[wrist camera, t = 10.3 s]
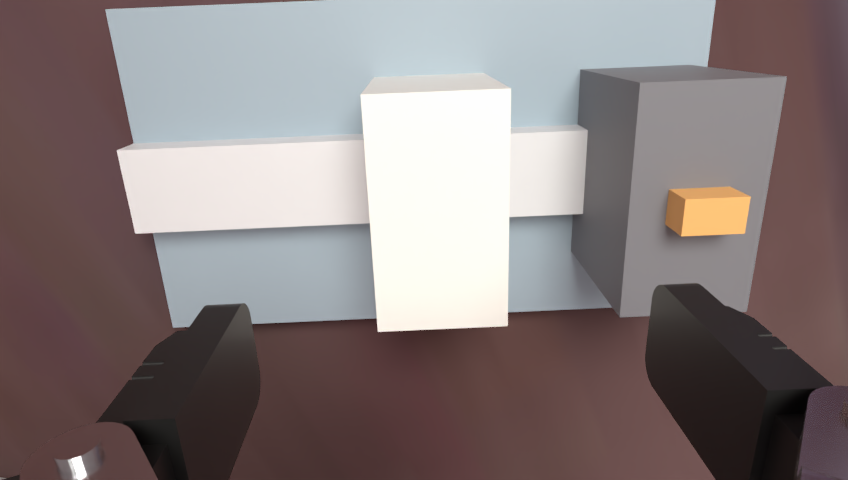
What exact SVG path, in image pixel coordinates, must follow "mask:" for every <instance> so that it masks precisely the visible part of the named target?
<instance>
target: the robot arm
mask: <svg viewBox="0 0 848 480" xmlns="http://www.w3.org/2000/svg"><path fill="white" fill-rule="evenodd" d="M645 362H646V370H647V374H648V378H649V381H650V383H651V385H652V387H653V388H654V390H655V391H656V393H657V394H658V396H659V397H660V399H661V400H662V401H663V403H664V404H665V406H666V407H667V409H668V410H669V412H670V413H671V415H672V416H673V418H674V419H675V421H676V422H677V423H678V425H679V426H680V428H681V429H682V431H683V432H684V434H685V435H686V437H687V438H688V440H689V441H690V443H691V444H692V445H693V447H694V448H695V450H696V451H697V453H698V454H699V456H700V457H701V459H702V460H703V462H704V463H705V465H706V466H707V467H708V469H709V470H710V472H711V473H712V475H713V476H714V478H715V479H716V480H848V386H833V385H832V384H831V383H830V382H829V381H828V380H826V379H825V378H824V377H823V376H822V375H820V374H819V373H818V372H817V371H816V370H814V369H813V368H812V367H811V366H810V365H809V364H807V363H806V362H805V361H804V360H803V359H801V358H800V357H799V356H798V355H797V354H796V353H794V352H793V351H792V350H791V349H789V350H787V346H786V345H785V344H784V343H783V342H781V341H780V340H779V339H778V338H777V337H772V333H771V332H770V331H768V330H767V329H766V328H765V327H764V326H762V325H761V324H760V323H759V322H758V321H757V320H755V319H754V318H752V317H750V316H748V315H746V314H744V313H742V312H740V311H737V310H735V309H733V308H731V307H729V306H725V305H723V304H722V303H721V302H720V301H719V300H718V299H717V298H715V297H714V296H713V295H712V294H711V293H710V292H709V291H708V290H706V289H705V288H704V287H703V286H702V285H700V284H698V283H686V284H665V285H658V286H657V287H656V288H655V289H654V292H653V295H652V302H651V310H650V319H649V328H648V336H647V345H646V354H645ZM259 395H260V371H259V365H258V358H257V352H256V346H255V340H254V334H253V327H252V321H251V315H250V311H249V308H248V306H247V305H246V304H245V303H238V304H217V305H206V306H204V307H203V308H202V310H201V311H200V313H199V314H198V315H197V317H196V318H195V320H194V321H193V323H192V324H191V325H190V327H189V328H188V330H187V331H177V332H175V333H174V334H172V335H171V336H170V337H168V338H167V339H165V340H164V341H162V342H161V343H159V344H158V345H156V346H155V347H154V349H153V350H152V351H151V352H150V354H149V355H148V356H147V358H146V359H145V360H144V361H143V366H140V367H139V368H138V369H137V371H136V372H135V373H134V374H133V376H132V380H129V381H128V382H127V383H126V385H125V386H124V387H123V389H122V390H121V391H120V393H119V394H118V395H117V396H116V398H115V399H114V400H113V402H112V403H111V404H110V405H109V407H108V408H107V409H106V411H105V412H104V413H103V415H102V416H101V417H100V418H99V420H98V421H97V422H96V423H93V424H88V425H84V426H80V427H77V428H74V429H71V430H69V431H67V432H64V433H62V434H60V435H58V436H56V437H54V438H52V439H51V440H49V441H48V442H46V443H45V444H43V445H42V446H41V447H39V448H38V449H37V450H36V451H35V452H33V453H32V454H31V455H30V456H29V458H28V459H27V460H26V461H25V463H24V465H23V466H22V468H21V471H20V475H17V476H14V477H10V478H6V479H2V480H228V479H229V477H230V474H231V472H232V469H233V466H234V464H235V461H236V459H237V456H238V453H239V451H240V448H241V446H242V443H243V441H244V438H245V435H246V433H247V430H248V428H249V425H250V422H251V420H252V417H253V415H254V412H255V409H256V407H257V404H258V400H259Z"/></svg>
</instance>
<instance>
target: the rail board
mask: <svg viewBox="0 0 848 480" xmlns="http://www.w3.org/2000/svg"><path fill="white" fill-rule="evenodd" d="M715 1H716V0H322V1H298V2H273V3H249V4H224V5H199V6H175V7H150V8H126V9H105V11H106V15H107V20H108V25H109V29H110V34H111V39H112V43H113V48H114V53H115V58H116V62H117V67H118V72H119V76H120V81H121V86H122V90H123V95H124V100H125V105H126V109H127V114H128V119H129V123H130V128H131V133H132V137H133V142H134V144H131V145H129V146H126V147H124V148H122V149H119V150H117V154H118V158H119V163H120V167H121V172H122V176H123V181H124V185H125V190H126V194H127V199H128V203H129V207H130V212H131V216H132V221H133V225H134V230H135V234H139V233H153V236H154V241H155V245H156V250H157V255H158V260H159V264H160V269H161V274H162V278H163V283H164V288H165V292H166V297H167V302H168V307H169V311H170V316H171V321H172V325H173V328H176V327H190V325H191V324H192V323H193V321H194V320H195V318H196V317H197V315H198V314H199V313H200V311H201V310H202V308H203V307H204V306H206V305H217V304H238V303H245V304H246V305H247V306H248V308H249V311H250V315H251V321H252V324H264V323H286V322H308V321H330V320H352V319H374V318H377V314H376V300H375V287H374V273H373V259H372V246H371V232H370V218H369V205H368V191H367V177H366V164H365V150H364V137H363V123H362V109H361V96H360V94H361V93H362V92H363V91H364V89H365V88H366V87H367V85H368V84H369V83H370V81H371V80H372V79H373V78H374V77H391V76H416V75H441V74H465V73H485V74H487V75H488V76H490V77H492V78H494V79H495V80H497V81H499V82H501V83H502V84H504V85H506V86H508V87H510V88H511V133H510V202H509V272H508V312H527V311H549V310H571V309H593V308H613V309H614V310H615V312H616V313H617V315H618V316H619V317H640V316H650V310H651V302H652V295H653V292H654V289H655V288H656V287H657V286H658V285H665V284H686V283H698V284H700V285H702V286H703V287H704V288H705V289H706V290H708V291H709V292H710V293H711V294H712V295H713V296H714V297H715V298H717V299H718V300H719V301H720V302H721V303H722V304H723V305H725V306H729V307H731V308H733V309H735V310H737V311H740V312H747V307H748V301H749V295H750V289H751V283H752V278H753V272H754V266H755V260H756V254H757V249H758V243H759V237H760V231H761V225H762V219H763V214H764V208H765V202H766V196H767V190H768V185H769V179H770V173H771V167H772V161H773V156H774V150H775V144H776V138H777V132H778V126H779V121H780V115H781V109H782V103H783V97H784V92H785V86H786V80H787V77H786V76H778V75H770V74H761V73H753V72H745V71H737V70H729V69H720V68H712V67H707V65H708V57H709V49H710V41H711V33H712V25H713V17H714V9H715Z"/></svg>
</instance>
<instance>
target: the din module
mask: <svg viewBox="0 0 848 480" xmlns="http://www.w3.org/2000/svg"><path fill="white" fill-rule="evenodd" d="M360 96H361V109H362V123H363V137H364V150H365V164H366V177H367V191H368V205H369V218H370V232H371V246H372V259H373V273H374V287H375V300H376V314H377V327H378V332H387V331H410V330H432V329H454V328H477V327H499V326H508V272H509V202H510V133H511V88H510V87H508V86H506V85H504V84H502V83H501V82H499V81H497V80H495V79H494V78H492V77H490V76H488V75H487V74H485V73H465V74H441V75H416V76H391V77H374V78H373V79H372V80H371V81H370V83H369V84H368V85H367V87H366V88H365V89H364V91H363V92H362V93H361V94H360Z"/></svg>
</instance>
